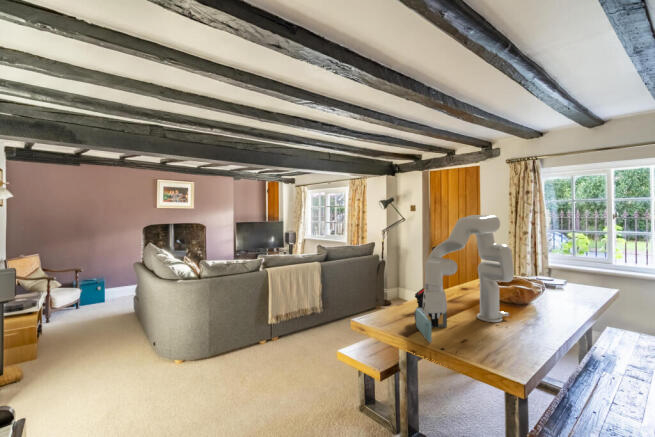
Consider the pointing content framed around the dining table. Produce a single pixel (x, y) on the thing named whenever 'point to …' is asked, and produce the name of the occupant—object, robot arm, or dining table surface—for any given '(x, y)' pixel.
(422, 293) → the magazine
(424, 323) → the side door
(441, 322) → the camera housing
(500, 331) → the dining table surface
